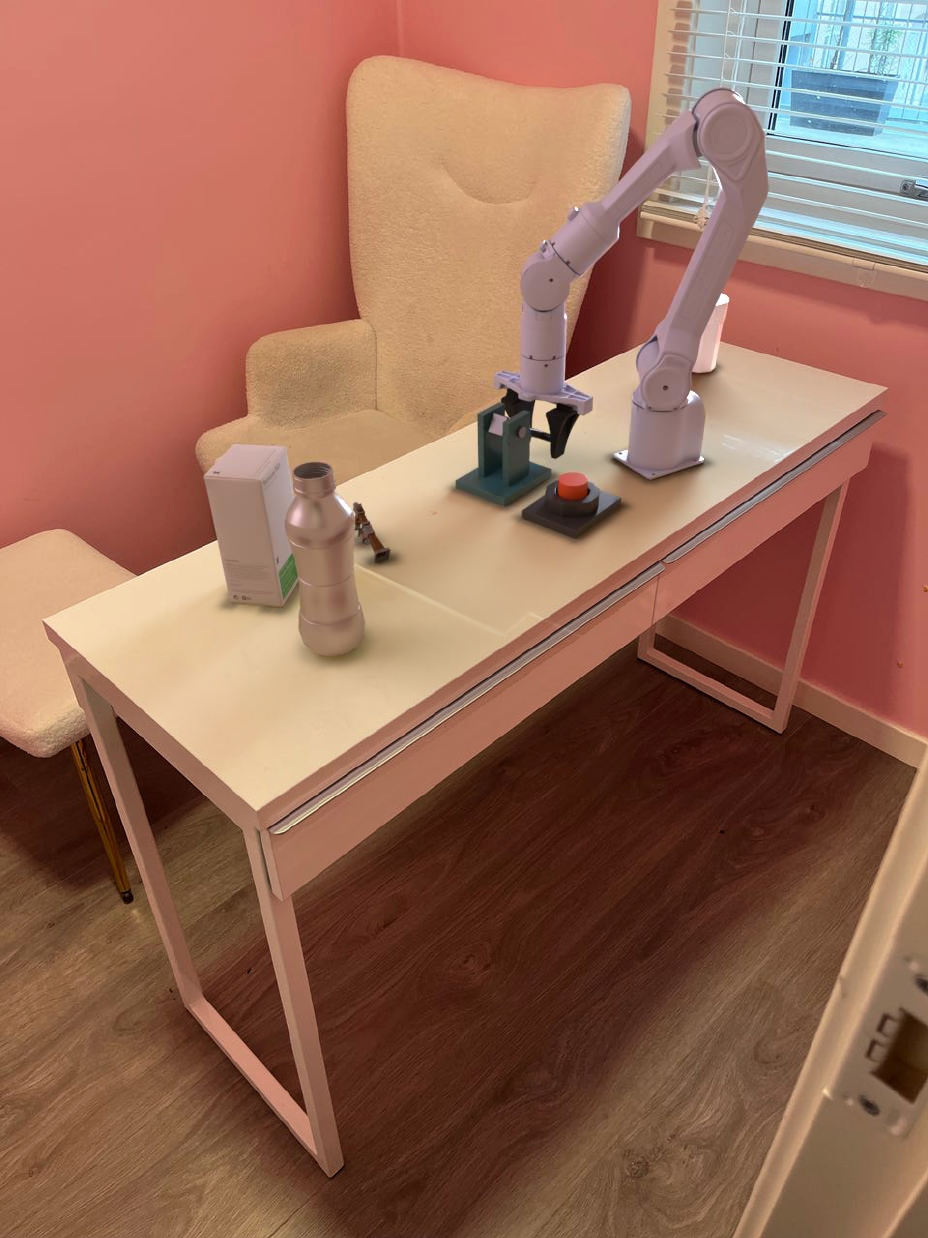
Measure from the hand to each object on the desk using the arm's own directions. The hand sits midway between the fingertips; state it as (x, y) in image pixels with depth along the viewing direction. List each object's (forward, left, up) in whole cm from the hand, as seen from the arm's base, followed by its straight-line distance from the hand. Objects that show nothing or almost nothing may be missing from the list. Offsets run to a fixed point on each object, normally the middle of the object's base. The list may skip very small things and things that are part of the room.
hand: (540, 449), depth 131 cm
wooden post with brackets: (+30, +8, -2) cm, 31 cm away
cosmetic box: (+43, +9, -2) cm, 43 cm away
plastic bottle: (+41, +23, -2) cm, 47 cm away
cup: (-39, -13, -2) cm, 42 cm away
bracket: (+8, +3, -2) cm, 8 cm away
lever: (+5, +2, +4) cm, 6 cm away
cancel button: (+5, +14, +1) cm, 15 cm away
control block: (+5, +14, -2) cm, 15 cm away
